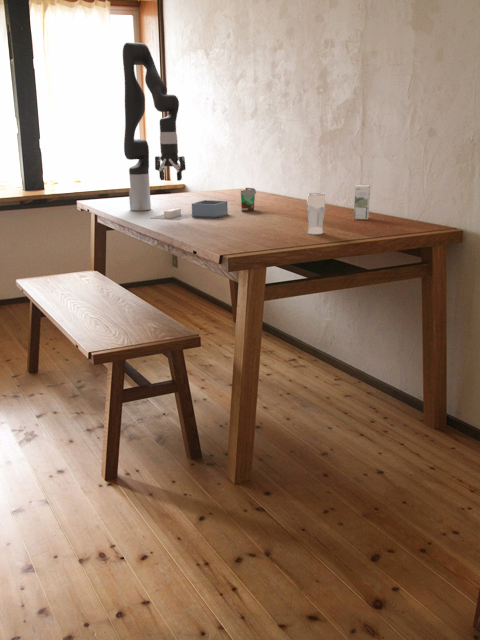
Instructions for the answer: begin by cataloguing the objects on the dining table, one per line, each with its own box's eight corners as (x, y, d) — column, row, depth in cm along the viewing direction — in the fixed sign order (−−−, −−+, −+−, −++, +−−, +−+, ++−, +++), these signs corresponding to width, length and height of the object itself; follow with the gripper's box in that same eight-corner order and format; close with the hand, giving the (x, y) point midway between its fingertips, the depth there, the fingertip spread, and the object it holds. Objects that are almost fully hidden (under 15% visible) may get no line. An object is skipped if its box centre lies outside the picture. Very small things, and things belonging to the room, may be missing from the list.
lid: (149, 220, 287) (149, 211, 286) (167, 215, 300) (166, 206, 299) (178, 221, 281) (178, 213, 280) (195, 216, 294) (194, 208, 293)
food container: (253, 212, 298) (253, 190, 295) (241, 212, 299) (240, 190, 296) (258, 208, 309) (258, 187, 306) (246, 208, 310) (245, 187, 307)
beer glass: (304, 232, 248) (305, 193, 244) (322, 231, 249) (323, 192, 244) (308, 235, 242) (308, 195, 237) (326, 234, 242) (327, 194, 237)
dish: (192, 216, 289) (191, 203, 287) (204, 213, 299) (204, 200, 297) (215, 218, 284) (215, 204, 282) (227, 214, 294) (227, 201, 292)
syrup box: (368, 218, 276) (370, 184, 272) (366, 220, 271) (368, 185, 267) (355, 217, 278) (357, 183, 274) (353, 219, 273) (354, 185, 268)
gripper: (150, 143, 280) (152, 180, 285) (178, 143, 274) (180, 181, 279) (159, 142, 287) (161, 179, 292) (187, 142, 281) (188, 179, 286)
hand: (170, 180), depth 285 cm, fingers open, 8 cm apart
